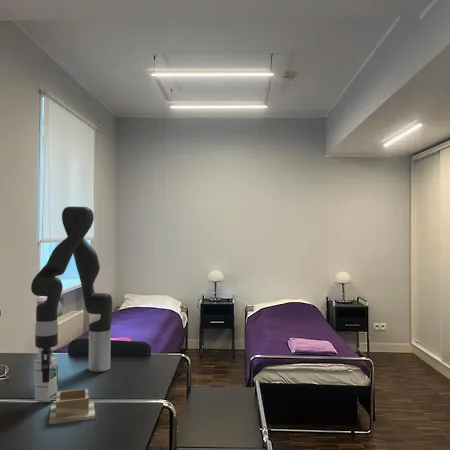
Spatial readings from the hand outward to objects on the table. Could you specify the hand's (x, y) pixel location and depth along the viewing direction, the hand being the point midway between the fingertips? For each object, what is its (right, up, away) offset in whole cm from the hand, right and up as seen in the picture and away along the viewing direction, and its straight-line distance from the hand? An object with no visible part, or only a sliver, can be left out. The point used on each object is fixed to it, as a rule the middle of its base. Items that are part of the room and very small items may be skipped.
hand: (46, 378), depth 159 cm
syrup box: (0, -7, 0) cm, 7 cm away
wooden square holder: (+13, -8, -10) cm, 18 cm away
